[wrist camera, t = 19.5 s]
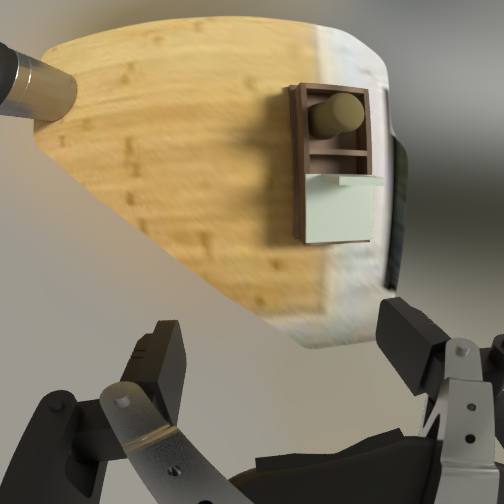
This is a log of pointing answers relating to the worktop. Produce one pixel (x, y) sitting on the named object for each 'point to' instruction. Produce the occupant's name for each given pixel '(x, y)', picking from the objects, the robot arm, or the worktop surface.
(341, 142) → the caddy
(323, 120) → the olive rounded piece
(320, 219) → the lid
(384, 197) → the worktop surface
